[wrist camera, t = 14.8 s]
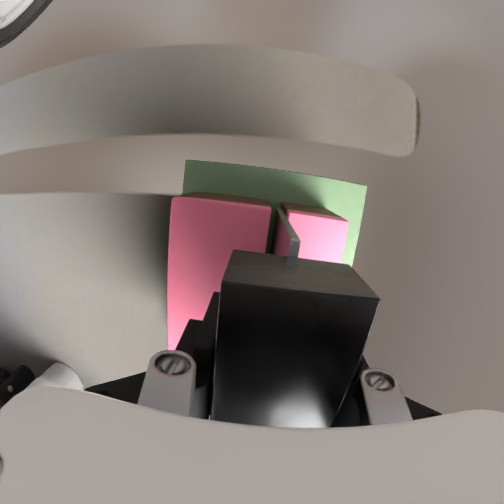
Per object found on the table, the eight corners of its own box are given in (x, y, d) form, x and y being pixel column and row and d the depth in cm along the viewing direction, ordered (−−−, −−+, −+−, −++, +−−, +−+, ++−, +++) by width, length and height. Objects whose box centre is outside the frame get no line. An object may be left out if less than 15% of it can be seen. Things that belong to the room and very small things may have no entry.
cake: (194, 191, 18) (171, 197, 13) (268, 199, 18) (272, 209, 13) (186, 315, 20) (167, 354, 15) (250, 325, 20) (248, 367, 15)
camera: (4, 338, 24) (-32, 369, 16) (41, 376, 25) (8, 414, 17) (0, 384, 27) (-25, 411, 19) (30, 414, 28) (8, 444, 20)
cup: (73, 404, 26) (30, 469, 14) (37, 364, 24) (-16, 423, 13) (102, 392, 25) (54, 471, 13) (61, 346, 23) (-3, 416, 12)
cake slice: (281, 201, 18) (289, 211, 13) (326, 208, 18) (349, 220, 13) (261, 326, 20) (262, 368, 15) (301, 330, 20) (312, 372, 15)
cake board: (190, 160, 18) (185, 159, 17) (361, 184, 19) (367, 185, 17) (179, 328, 22) (175, 336, 21) (325, 345, 22) (328, 353, 21)
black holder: (247, 204, 15) (223, 256, 5) (310, 213, 15) (388, 277, 5) (229, 347, 17) (207, 483, 8) (282, 354, 17) (295, 489, 8)
